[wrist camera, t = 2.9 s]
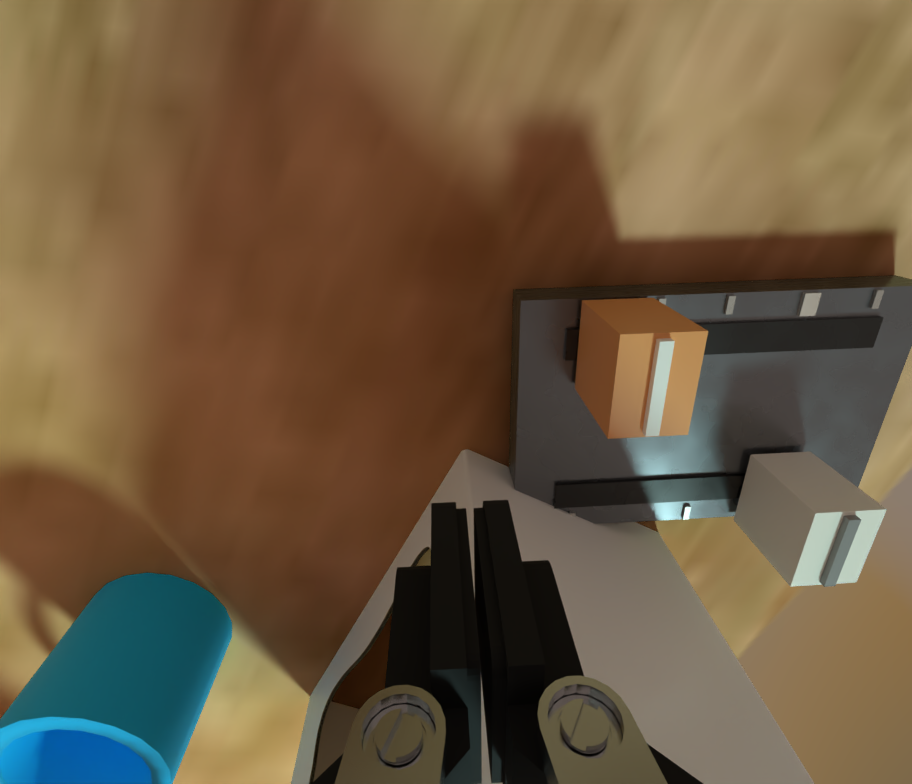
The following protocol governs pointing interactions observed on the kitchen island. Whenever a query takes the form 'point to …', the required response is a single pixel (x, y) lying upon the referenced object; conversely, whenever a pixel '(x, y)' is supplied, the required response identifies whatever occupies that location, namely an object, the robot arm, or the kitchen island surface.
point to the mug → (119, 687)
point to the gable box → (593, 640)
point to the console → (710, 393)
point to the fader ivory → (807, 518)
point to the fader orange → (638, 366)
